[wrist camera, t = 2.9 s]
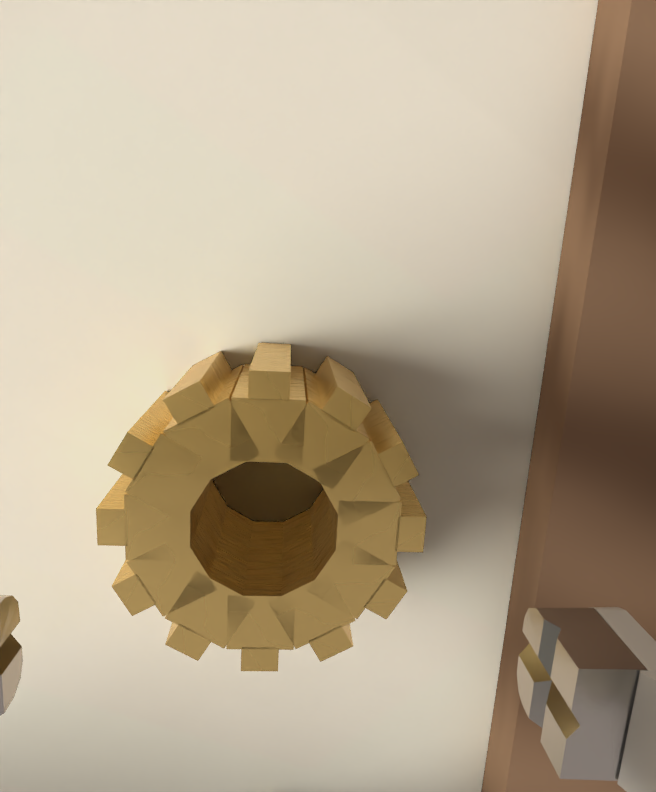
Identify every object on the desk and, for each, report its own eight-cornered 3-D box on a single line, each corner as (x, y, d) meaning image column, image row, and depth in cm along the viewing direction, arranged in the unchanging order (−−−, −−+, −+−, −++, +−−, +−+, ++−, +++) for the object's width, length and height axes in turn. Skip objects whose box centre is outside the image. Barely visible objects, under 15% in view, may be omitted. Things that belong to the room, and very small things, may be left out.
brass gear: (138, 336, 14) (90, 363, 11) (406, 349, 15) (441, 378, 11) (142, 580, 16) (102, 669, 12) (385, 584, 16) (410, 672, 13)
